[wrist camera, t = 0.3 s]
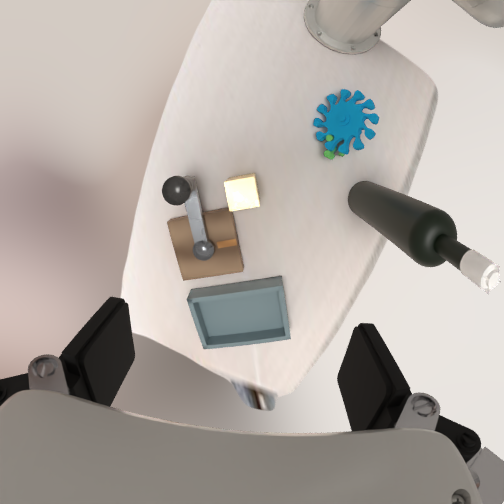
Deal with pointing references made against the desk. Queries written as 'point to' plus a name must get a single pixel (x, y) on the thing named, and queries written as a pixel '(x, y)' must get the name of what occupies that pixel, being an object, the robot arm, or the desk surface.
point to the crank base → (223, 239)
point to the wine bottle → (420, 231)
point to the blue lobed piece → (345, 123)
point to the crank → (190, 212)
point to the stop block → (242, 192)
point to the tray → (240, 313)
